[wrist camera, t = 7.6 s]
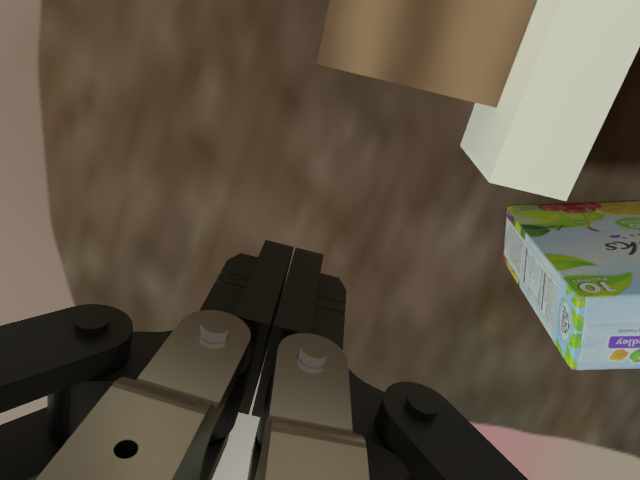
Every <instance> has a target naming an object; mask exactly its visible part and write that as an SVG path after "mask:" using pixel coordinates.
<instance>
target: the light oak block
mask: <svg viewBox="0 0 640 480" xmlns="http://www.w3.org/2000/svg"><path fill="white" fill-rule="evenodd" d="M535 3H536V0H330V3H329V7H328V12H327V17H326V22H325V26H324V31H323V36H322V41H321V46H320V50H319V55H318V60H317V64H318V65H322V66H327V67H331V68H335V69H339V70H343V71H347V72H351V73H355V74H359V75H364V76H368V77H372V78H376V79H380V80H384V81H388V82H392V83H397V84H401V85H405V86H409V87H413V88H417V89H421V90H425V91H430V92H434V93H438V94H442V95H446V96H450V97H454V98H458V99H462V100H467V101H471V102H475V103H479V104H483V105H487V106H491V107H495V108H497V105H498V102H499V100H500V97H501V94H502V92H503V89H504V86H505V84H506V81H507V78H508V76H509V73H510V70H511V67H512V65H513V62H514V59H515V57H516V54H517V51H518V49H519V46H520V43H521V41H522V38H523V35H524V32H525V30H526V27H527V24H528V22H529V19H530V16H531V14H532V11H533V8H534V5H535Z"/></svg>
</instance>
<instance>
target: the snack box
mask: <svg viewBox="0 0 640 480" xmlns="http://www.w3.org/2000/svg"><path fill="white" fill-rule="evenodd" d="M503 260H504V262H505V264H506V265H507V267H508V269H509V270H510V272H511V273H512V275H513V277H514V279H515V280H516V282H517V283H518V285H519V287H520V288H521V290H522V291H523V293H524V295H525V296H526V298H527V299H528V301H529V303H530V304H531V306H532V308H533V309H534V311H535V313H536V314H537V316H538V318H539V319H540V321H541V322H542V324H543V326H544V327H545V329H546V330H547V332H548V334H549V335H550V337H551V338H552V340H553V342H554V343H555V345H556V346H557V348H558V350H559V351H560V353H561V355H562V356H563V358H564V360H565V361H566V363H567V364H568V365H569V367H570V368H571V369H572V370H593V369H640V201H626V202H604V203H573V204H548V205H520V206H509V207H507V208H506V226H505V240H504V251H503Z"/></svg>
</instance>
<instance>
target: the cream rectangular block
mask: <svg viewBox="0 0 640 480" xmlns="http://www.w3.org/2000/svg"><path fill="white" fill-rule="evenodd" d="M639 47H640V0H536V3H535V5H534V8H533V11H532V14H531V16H530V19H529V22H528V24H527V27H526V30H525V32H524V35H523V38H522V41H521V43H520V46H519V49H518V51H517V54H516V57H515V59H514V62H513V65H512V67H511V70H510V73H509V76H508V78H507V81H506V84H505V86H504V89H503V92H502V94H501V97H500V100H499V102H498V105H497V108H495V107H491V106H487V105H483V104H479V103H475V105H474V108H473V111H472V114H471V117H470V119H469V122H468V125H467V128H466V131H465V133H464V136H463V139H462V142H461V145H460V146H461V148H462V149H463V150H464V151H465V153H466V154H467V155H468V156H469V158H470V159H471V160H472V161H473V163H474V164H475V165H476V167H477V168H478V169H479V170H480V172H481V173H482V174H483V175H484V177H485V178H486V179H487V181H488V182H489V183H493V184H497V185H502V186H506V187H510V188H514V189H518V190H522V191H526V192H530V193H535V194H539V195H543V196H547V197H551V198H555V199H559V200H563V201H567V199H568V197H569V195H570V192H571V190H572V188H573V186H574V184H575V182H576V180H577V178H578V176H579V173H580V171H581V169H582V167H583V165H584V163H585V161H586V159H587V157H588V155H589V152H590V150H591V148H592V146H593V144H594V142H595V140H596V138H597V136H598V133H599V131H600V129H601V127H602V125H603V123H604V121H605V119H606V117H607V115H608V112H609V110H610V108H611V106H612V104H613V102H614V100H615V98H616V96H617V94H618V91H619V89H620V87H621V85H622V83H623V81H624V79H625V77H626V75H627V72H628V70H629V68H630V66H631V64H632V62H633V60H634V58H635V56H636V54H637V51H638V49H639Z"/></svg>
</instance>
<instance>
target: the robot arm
mask: <svg viewBox="0 0 640 480" xmlns="http://www.w3.org/2000/svg"><path fill="white" fill-rule="evenodd" d="M292 252H293V247H292V246H288V245H284V244H280V243H276V242H272V241H268V240H266V241H265V243H264V245H263V247H262V250H261V252H260V254H259V257H254V256H250V255H246V254H242V253H240V254H238V255H236V256H235V257H233V258H231V259H229V260H227V262H226V264H225V266H224V267H223V269H222V271H221V274H220V275H219V276H218V278H217V280H216V283H215V284H214V285H213V287H212V289H211V291H210V293H209V295H208V296H207V298H206V300H205V302H204V304H203V305H202V307H201V309H200V311H197V312H193V313H191V314H189V315H187V316H185V317H184V318H183V319H182V320H181V321H180V322H179V324H178V325H177V326H176V328H175V329H174V330H172V331H166V332H133V323H132V321H131V319H130V317H129V316H128V315H127V314H125V313H124V312H123V311H121V310H119V309H117V308H114V307H111V306H106V305H99V304H86V305H79V306H74V307H70V308H67V309H63V310H59V311H55V312H52V313H48V314H44V315H40V316H36V317H32V318H29V319H25V320H21V321H17V322H13V323H10V324H6V325H2V326H0V413H2V412H5V411H7V410H10V409H13V408H15V407H18V406H20V405H23V404H26V403H29V402H31V401H34V400H37V399H39V398H42V397H44V396H47V395H48V407H46V408H43V409H41V410H38V411H36V412H33V413H30V414H28V415H25V416H23V417H20V418H17V419H15V420H12V421H10V422H7V423H5V424H2V425H0V480H212V478H213V475H214V473H215V470H216V468H217V466H218V463H219V461H220V458H221V456H222V454H223V451H224V449H225V447H226V444H227V441H228V437H229V432H230V431H231V430H232V428H233V426H234V424H235V421H236V418H237V415H238V412H240V413H245V414H249V411H250V407H251V404H252V400H253V396H254V393H255V390H256V386H257V383H258V379H259V376H260V372H261V369H262V365H263V362H264V358H265V355H266V358H265V362H264V366H263V370H262V374H261V378H260V383H259V387H258V391H257V395H256V399H255V403H254V407H253V411H252V415H253V416H258V417H260V421H259V425H258V429H257V433H256V437H255V441H254V445H253V449H252V454H251V460H250V467H249V473H248V479H247V480H528V479H527V478H526V477H525V476H524V475H523V474H522V473H521V472H519V470H518V469H517V468H516V467H515V466H514V465H512V463H510V462H509V461H508V460H507V459H506V458H505V457H504V456H503V455H502V454H501V453H500V452H499V451H498V450H497V449H496V448H495V447H494V446H493V445H492V444H491V443H490V442H489V441H488V440H487V439H486V438H485V437H484V436H483V435H482V434H481V433H480V432H479V431H478V430H477V429H476V428H475V427H474V426H473V425H472V424H471V423H470V422H469V421H468V420H467V419H466V418H465V417H464V416H463V415H461V414H460V413H459V412H458V411H457V410H456V409H455V408H454V407H453V406H452V405H451V404H450V403H449V402H448V401H447V400H446V399H445V398H444V397H443V396H442V395H440V394H439V393H437V392H436V391H434V390H433V389H431V388H429V387H426V386H424V385H421V384H418V383H413V382H398V383H395V384H392V385H391V386H389V387H388V388H387V389H386V391H385V392H383V391H381V390H379V389H377V388H375V387H373V386H371V385H369V384H367V383H365V382H364V381H362V380H361V379H359V378H358V377H357V376H356V375H354V374H353V373H352V372H351V370H350V369H349V368H348V360H347V357H346V355H345V353H344V352H343V336H344V320H345V315H344V314H345V303H346V289H345V287H344V286H343V284H342V282H341V281H340V279H339V278H337V277H334V276H330V275H326V274H322V273H320V271H321V265H322V259H323V254H320V253H316V252H312V251H308V250H304V249H300V248H296V249H295V252H294V256H293V259H292V263H291V266H290V270H289V273H288V276H287V272H288V268H289V264H290V260H291V256H292ZM286 276H287V280H286ZM285 280H286V283H285ZM284 284H285V287H284ZM283 289H284V290H283ZM282 293H283V294H282ZM267 348H268V350H267ZM266 352H267V354H266Z"/></svg>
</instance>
